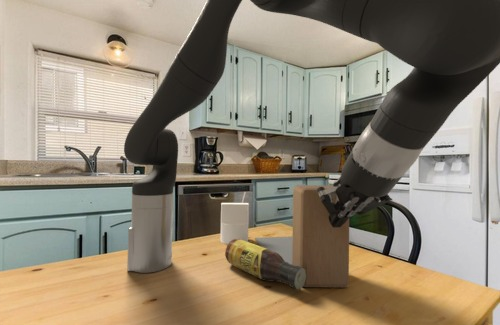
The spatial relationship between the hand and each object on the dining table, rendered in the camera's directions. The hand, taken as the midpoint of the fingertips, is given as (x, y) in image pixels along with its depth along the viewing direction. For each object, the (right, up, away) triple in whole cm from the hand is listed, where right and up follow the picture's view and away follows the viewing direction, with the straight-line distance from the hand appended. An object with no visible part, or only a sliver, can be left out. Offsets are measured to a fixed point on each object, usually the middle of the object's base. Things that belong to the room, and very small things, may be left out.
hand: (334, 223), depth 47 cm
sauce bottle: (-20, -11, +14) cm, 27 cm away
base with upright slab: (-21, -14, +33) cm, 41 cm away
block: (-1, -14, +7) cm, 16 cm away
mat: (-4, -14, +24) cm, 28 cm away
